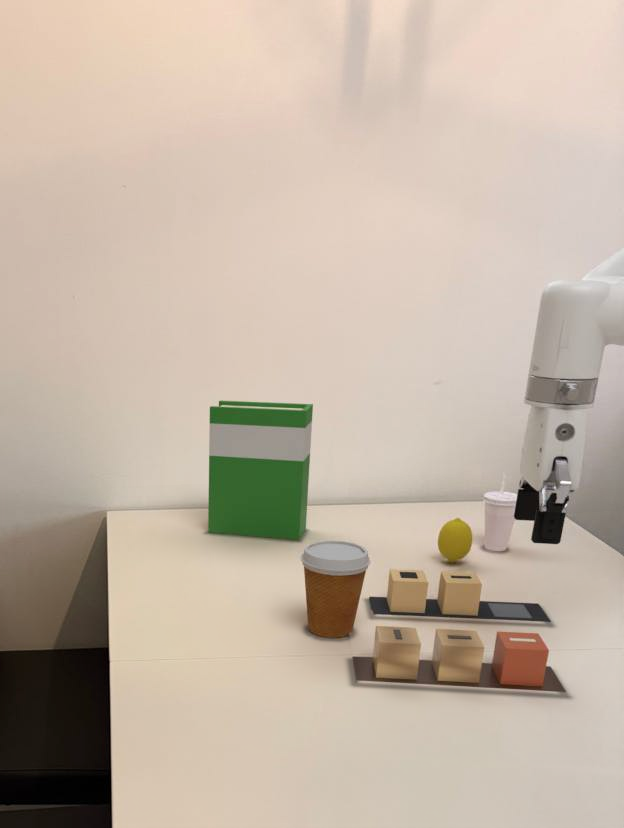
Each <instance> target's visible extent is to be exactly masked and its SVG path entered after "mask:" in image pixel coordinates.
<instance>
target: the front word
mask: <svg viewBox="0 0 624 828" xmlns="http://www.w3.org/2000/svg"><path fill="white" fill-rule="evenodd" d="M434 633H435V634H434V640H433V641H434V642H433V648H432V657H431V659H420V655H421V646H422V642H421V641H420V637H419V633H418V631H417V627H408V626H386V625H375V632H374V641H373V653H372V657H371V656H352V665H353V671H354V678H355V683H356V684H357V682H358V681H359V682H374V683H378V682H379V683H392V684H393V683H394V684H410V685H411V684H412V685H429V686H430V685H431V686H446V687H447V686H449V687H463V688H464V687H467V688H483V689H502V690H517V691H518V690H522V691H536V692H537V691H538V692H555V693H557V692H558V693H559V692H560V693H567V690H566V689H565V687H564V686H563V684H562V682H561V680H559V677H558V676H557V675H556V673H555V671H554V670H553V668H552V666H550V665H549V666H548V665H546V670H545V675H544V681H543V686H542V687H541V686H523V685H504V684H500V683H499V681H498V679H497V677H496V674H495V672H494V670H493V668H492V662H491V663H490V662H483V657H484V653H485V652H484V651H485V645H484V643H483V642H482V639H481V638H480V636H479V633H478V632H477V630H473V629H472V630H471V629H470V630H469V629H452V628H451V629H447V628H435V632H434Z"/></svg>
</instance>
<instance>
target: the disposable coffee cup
mask: <svg viewBox="0 0 624 828" xmlns="http://www.w3.org/2000/svg"><path fill="white" fill-rule="evenodd" d="M300 561H301V563H302V566H303V571H304V572H303V573H304V583H305V584H304V587H305V597H306V598H305V602H306V615H307V628H308V631H309V632H310V633H312V634H314V635H316V636H319V637H323V638H330V639H332V638H334V639H336V638H337V639H338V638H343V637H347V636H350V633H352V632H353V630H354V627H355V621H356V617H357V613H358V608H359V603H360V599H361V595H362V590H363V587H364V586H363V585H364V581H365V576H366V572H367V570H368V568H369V566H370V564H371V558H370V557H369V551H368V549H367V548H365V547H364V546H363V545H360V544H358V543H355V542H350V541H345V540H344V541H343V540H321V541H315V542H314V541H313V542H311V543H309V544H307V545H306V546H305V547H304V550H303V552H302V553H301V555H300Z"/></svg>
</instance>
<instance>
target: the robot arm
mask: <svg viewBox="0 0 624 828" xmlns="http://www.w3.org/2000/svg"><path fill="white" fill-rule="evenodd" d="M538 308H539V309H538V314H537V319H536V325H535V331H534V338H533V343H532V351H531V356H530V364H529V369H528V374H527V380H526V386H525V393H524V399H523V404H525V405H528V406H530V408H529V413H528V417H527V422H526V427H525V433H524V437H523V442H522V443H523V444H522V449H521V453H520V454H521V455H520V463H519V472H520V476H521V477H520V479H519V483H518V487H519V488H518V489H517V493H516V494H517V500H516V506H515V512H514V518H515V520H516V521H529V522H531V521H532V522H533V526H532V532H531V537H530V540H531V542H532V543H534V544H545V545H558V544H560V543H561V540H562V535H563V530H564V524H565V519H566V514H567V510H568V502H569V501H570V496H569V493H570V494H573V493H574V494H575V493H576V492H577V491H578V490H579V488H580V483H581V477H582V471H583V470H582V469H583V463H584V458H585V457H584V455H585V449H586V442H587V441H586V440H587V433H588V432H587V431H588V417H589V416H588V415H589V413H588V411H589V409H591V408H593V407H594V404H595V398H596V394H597V393H596V392H597V388H598V383H599V377H600V373H601V368H602V362H603V356H604V351H605V348H606V346H609V345H614V346H621V347H624V247H623V248H621V249H620V250H618V251H617V252H615V253H614V254H612V255H611V256H609V257H608V258H606V259H605V260H604V261H603V262H601V263H600V264H598V265H597V266H596V267H595V268H593V269H591V270H590V271H589V272H588V273H587V274H585V275H584V276H583V277H582V278H581V279H559V280H554V281H551V282H549V283H548V284H547V285H545V286H544V288H543V290H542V293H541V297H540V301H539V307H538ZM548 495H549V496H548Z"/></svg>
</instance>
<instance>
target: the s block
mask: <svg viewBox="0 0 624 828" xmlns="http://www.w3.org/2000/svg"><path fill="white" fill-rule="evenodd" d="M495 636H496V637H495V642H494V648H493V649H494V650H493V655H492V662H491V663H492V668H493V670H494V672H495V674H496V677H497V679H498V681H499V683H500V684H504V685H523V686H541V687H542V686H543V681H544V675H545V670H546V666H547V663H548V658H549V653H550V650H549V648H548V647H547V645H546V643H545V642H544V640H543V638H542V637H541V636H540V634H539V633H538V632H537V633H536V632H518V631H517V632H516V631H496V635H495Z"/></svg>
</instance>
